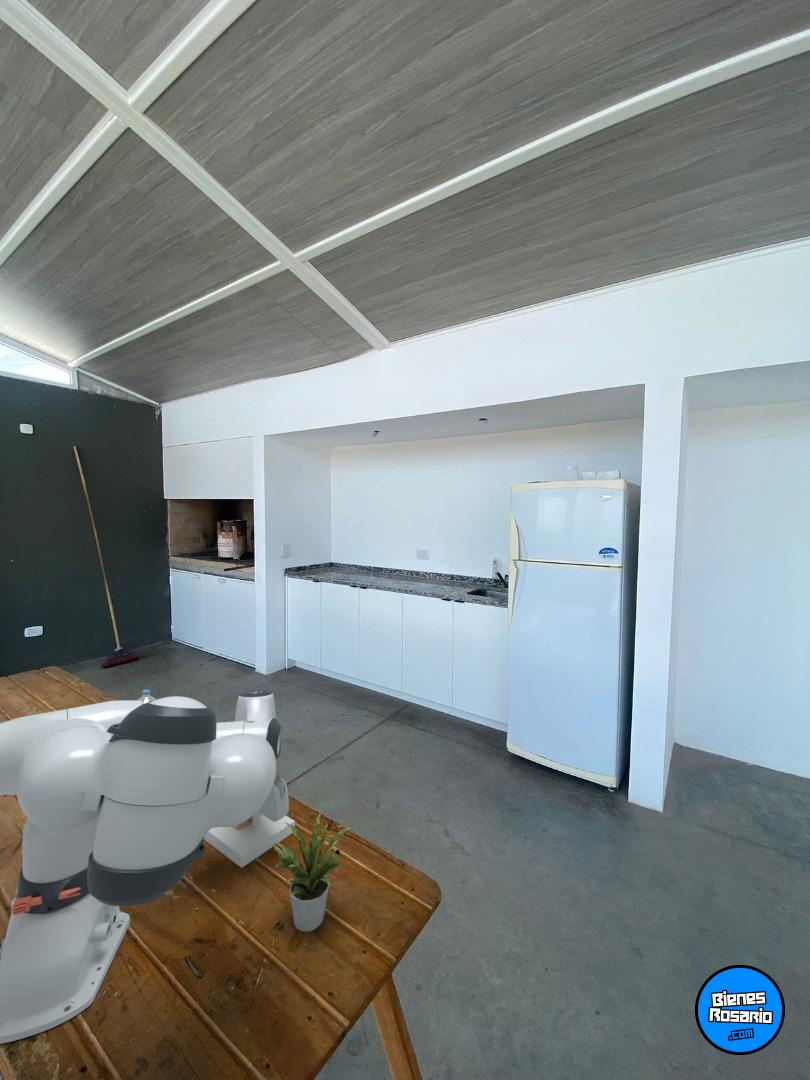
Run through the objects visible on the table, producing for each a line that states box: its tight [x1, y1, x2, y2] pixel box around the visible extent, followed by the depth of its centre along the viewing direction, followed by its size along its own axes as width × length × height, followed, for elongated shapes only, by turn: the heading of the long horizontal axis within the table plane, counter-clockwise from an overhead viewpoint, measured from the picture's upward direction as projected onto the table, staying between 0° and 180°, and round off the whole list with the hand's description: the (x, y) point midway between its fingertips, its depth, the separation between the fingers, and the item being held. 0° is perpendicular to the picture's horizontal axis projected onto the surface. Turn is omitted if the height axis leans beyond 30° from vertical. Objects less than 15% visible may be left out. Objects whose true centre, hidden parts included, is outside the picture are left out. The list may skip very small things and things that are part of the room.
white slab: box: [204, 815, 296, 868], centre depth 103 cm, size 18×14×2 cm
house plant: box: [272, 811, 355, 933], centre depth 82 cm, size 14×14×16 cm
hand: (253, 822), depth 101 cm, fingers closed
